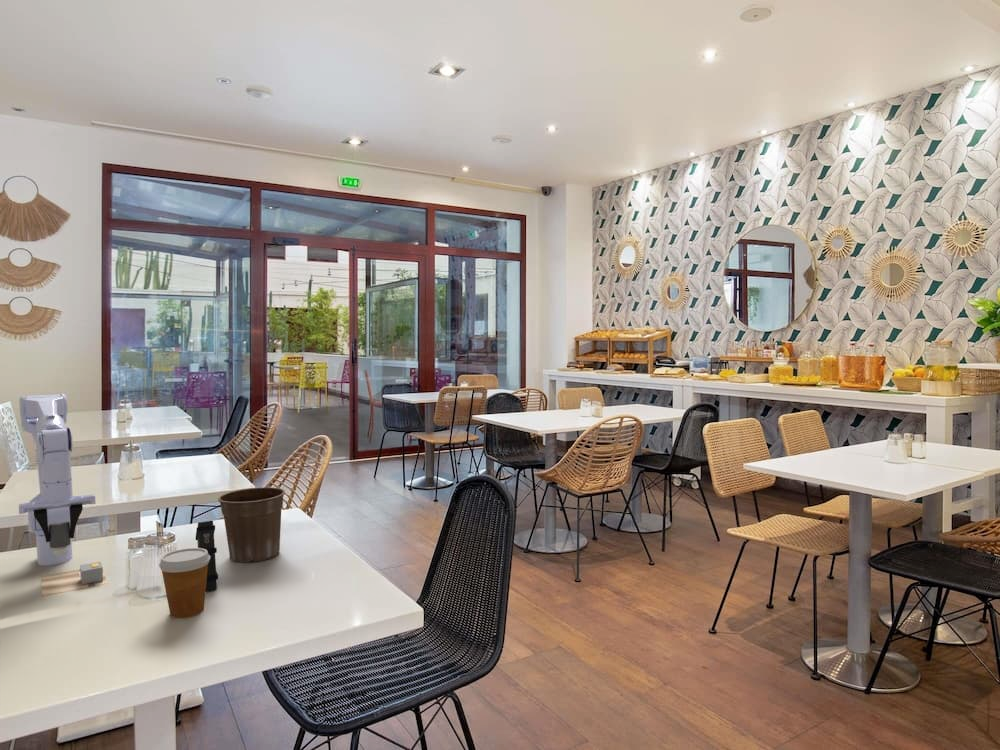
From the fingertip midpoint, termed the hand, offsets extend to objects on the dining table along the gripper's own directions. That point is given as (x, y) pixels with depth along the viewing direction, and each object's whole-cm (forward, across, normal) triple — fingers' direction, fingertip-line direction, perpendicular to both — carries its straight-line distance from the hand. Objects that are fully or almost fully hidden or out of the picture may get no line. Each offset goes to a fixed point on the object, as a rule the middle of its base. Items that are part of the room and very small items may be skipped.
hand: (60, 539), depth 150 cm
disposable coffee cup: (+11, +20, -36) cm, 42 cm away
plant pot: (+11, +41, -7) cm, 43 cm away
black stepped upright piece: (+11, +27, -20) cm, 36 cm away
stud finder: (+9, +6, -7) cm, 12 cm away
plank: (+10, +2, -4) cm, 11 cm away
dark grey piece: (+3, 0, 0) cm, 3 cm away
